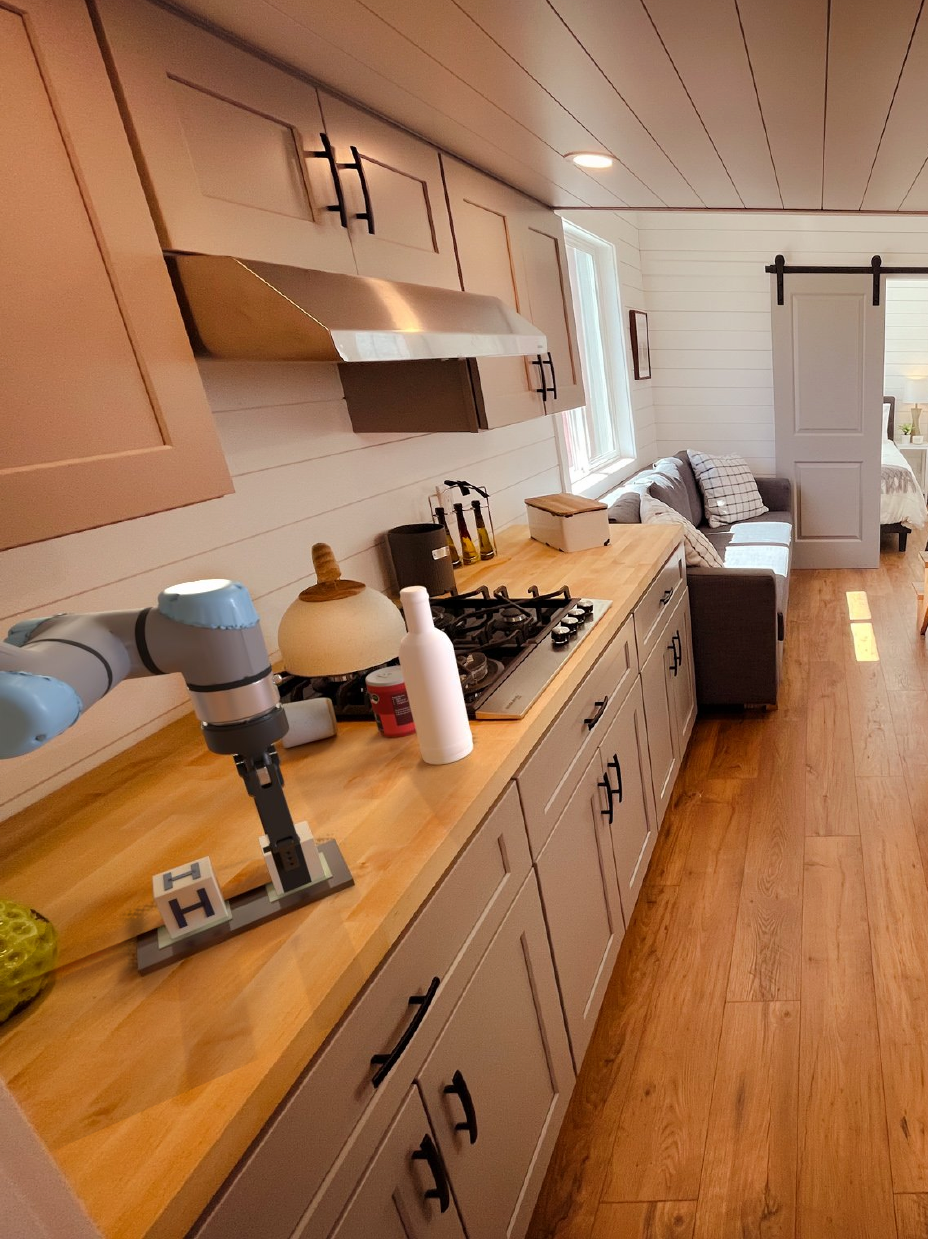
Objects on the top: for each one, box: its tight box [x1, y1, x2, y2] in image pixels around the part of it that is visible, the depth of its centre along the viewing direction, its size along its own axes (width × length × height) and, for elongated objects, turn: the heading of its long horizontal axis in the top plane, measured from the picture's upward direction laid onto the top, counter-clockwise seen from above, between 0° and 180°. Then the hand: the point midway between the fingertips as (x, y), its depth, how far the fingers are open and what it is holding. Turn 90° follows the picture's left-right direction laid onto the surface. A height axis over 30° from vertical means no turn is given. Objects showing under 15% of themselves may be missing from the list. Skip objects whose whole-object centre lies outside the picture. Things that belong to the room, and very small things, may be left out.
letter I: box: [257, 820, 325, 895], centre depth 86 cm, size 5×5×6 cm
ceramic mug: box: [280, 697, 339, 749], centre depth 120 cm, size 11×8×8 cm
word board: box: [135, 838, 356, 978], centre depth 84 cm, size 20×11×1 cm, turn 135°
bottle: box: [397, 585, 474, 766], centre depth 112 cm, size 8×8×30 cm
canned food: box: [365, 665, 416, 738], centre depth 123 cm, size 8×8×11 cm
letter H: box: [151, 855, 228, 939], centre depth 80 cm, size 5×5×6 cm
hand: (287, 858), depth 86 cm, fingers open, 13 cm apart
